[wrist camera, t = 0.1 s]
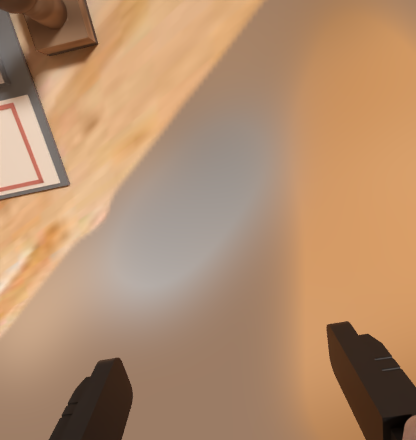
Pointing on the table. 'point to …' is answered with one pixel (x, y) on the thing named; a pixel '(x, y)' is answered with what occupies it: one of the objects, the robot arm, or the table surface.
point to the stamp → (55, 23)
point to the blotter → (24, 127)
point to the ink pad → (3, 75)
